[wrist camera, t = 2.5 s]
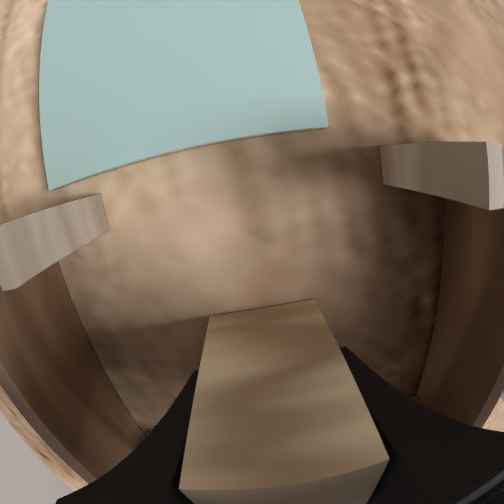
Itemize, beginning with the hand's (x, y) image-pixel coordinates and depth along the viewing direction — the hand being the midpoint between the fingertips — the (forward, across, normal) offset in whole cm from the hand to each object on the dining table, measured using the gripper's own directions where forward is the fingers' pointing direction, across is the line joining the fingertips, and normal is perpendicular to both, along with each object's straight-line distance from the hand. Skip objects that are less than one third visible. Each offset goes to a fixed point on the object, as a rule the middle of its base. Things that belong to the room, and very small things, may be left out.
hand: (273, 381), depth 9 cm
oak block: (+2, 0, 0) cm, 2 cm away
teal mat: (+2, +2, -13) cm, 13 cm away
